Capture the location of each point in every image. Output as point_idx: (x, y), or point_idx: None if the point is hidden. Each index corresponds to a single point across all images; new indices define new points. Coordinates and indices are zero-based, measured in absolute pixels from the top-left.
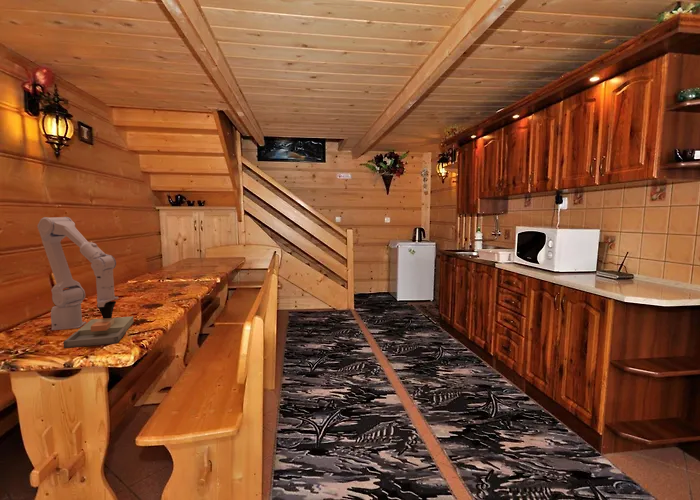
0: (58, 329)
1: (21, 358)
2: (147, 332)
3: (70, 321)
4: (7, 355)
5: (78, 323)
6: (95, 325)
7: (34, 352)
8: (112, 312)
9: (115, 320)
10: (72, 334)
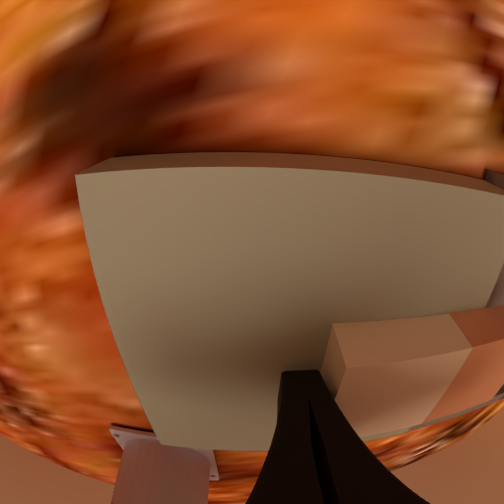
0: (217, 470)
1: (483, 419)
2: (495, 20)
3: (205, 483)
4: (435, 452)
5: (180, 455)
6: (494, 387)
7: (461, 423)
8: (278, 437)
9: (235, 332)
10: (439, 421)
